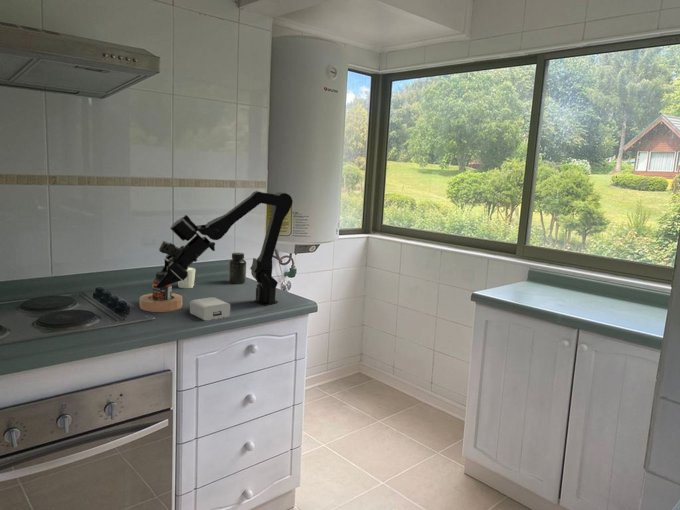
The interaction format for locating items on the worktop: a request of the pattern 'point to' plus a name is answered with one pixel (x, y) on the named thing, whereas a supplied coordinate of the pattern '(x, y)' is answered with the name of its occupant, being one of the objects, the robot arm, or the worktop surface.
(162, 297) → the supplement bottle
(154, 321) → the worktop surface
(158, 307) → the collar
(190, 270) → the white tapered cylinder
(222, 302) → the charger
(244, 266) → the supplement bottle
